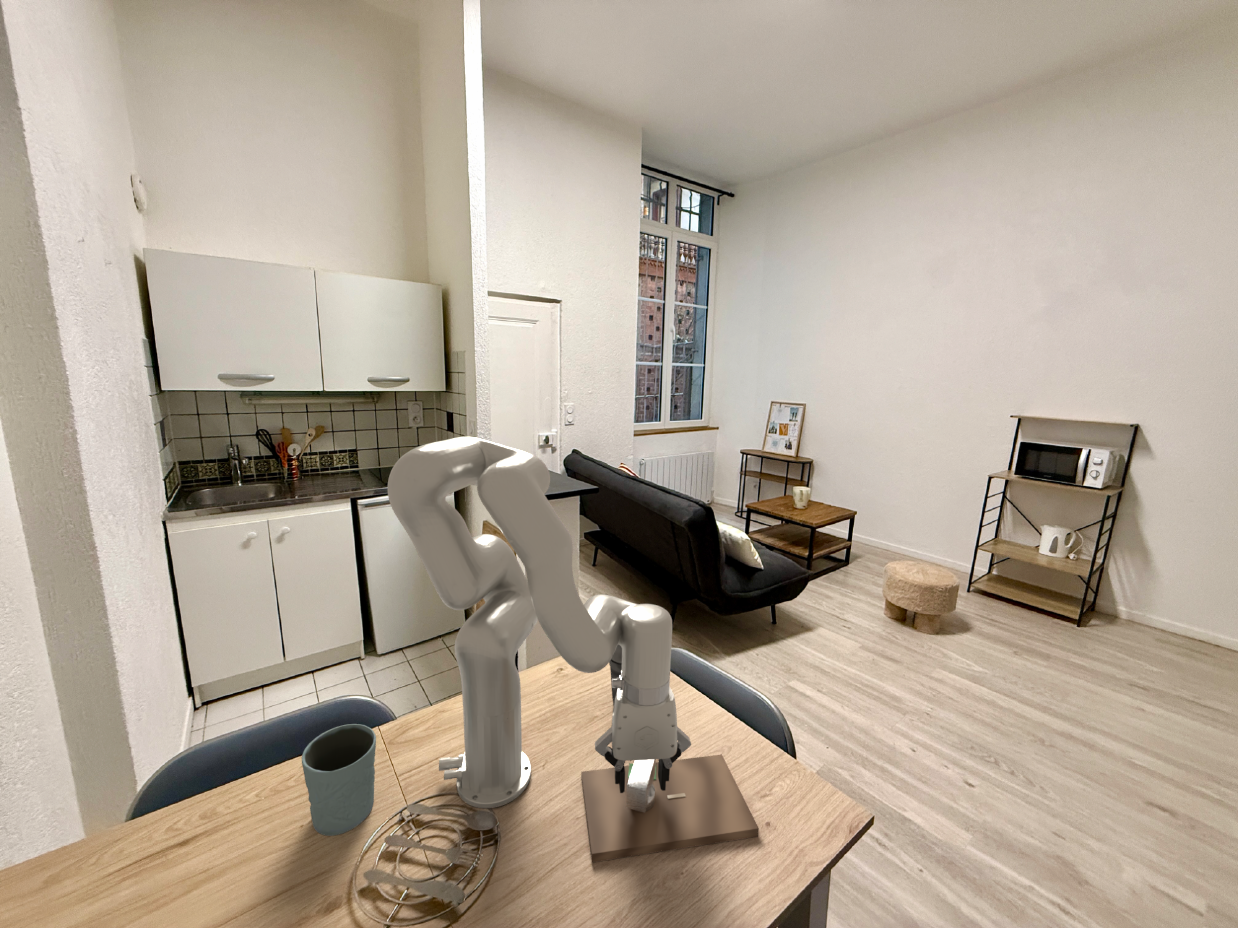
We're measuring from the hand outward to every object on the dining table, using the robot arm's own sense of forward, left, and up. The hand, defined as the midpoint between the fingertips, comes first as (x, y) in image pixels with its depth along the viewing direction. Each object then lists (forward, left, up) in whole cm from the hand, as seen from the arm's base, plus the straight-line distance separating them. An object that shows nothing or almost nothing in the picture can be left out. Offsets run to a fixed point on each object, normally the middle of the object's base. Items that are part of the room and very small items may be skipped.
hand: (641, 783), depth 79 cm
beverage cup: (+2, +26, -5) cm, 27 cm away
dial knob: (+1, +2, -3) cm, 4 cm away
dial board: (+4, 0, -5) cm, 6 cm away
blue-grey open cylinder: (-47, +7, -5) cm, 48 cm away
